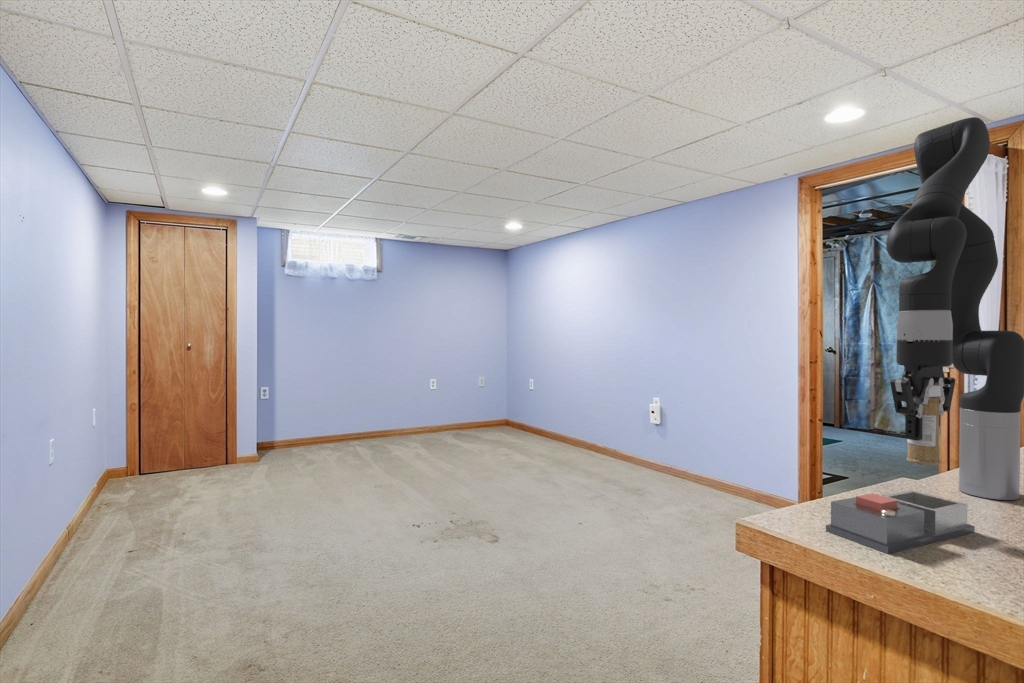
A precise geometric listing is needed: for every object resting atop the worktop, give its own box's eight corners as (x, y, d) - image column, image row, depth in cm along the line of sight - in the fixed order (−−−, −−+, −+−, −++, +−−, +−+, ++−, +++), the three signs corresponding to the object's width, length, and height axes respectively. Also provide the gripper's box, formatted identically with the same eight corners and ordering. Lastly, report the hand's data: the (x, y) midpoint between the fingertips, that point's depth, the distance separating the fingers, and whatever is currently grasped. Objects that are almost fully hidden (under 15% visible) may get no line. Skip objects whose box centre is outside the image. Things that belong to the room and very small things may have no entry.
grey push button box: (909, 513, 97) (909, 482, 97) (974, 532, 88) (974, 498, 88) (825, 531, 89) (826, 497, 89) (888, 553, 80) (888, 516, 80)
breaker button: (871, 523, 89) (872, 493, 89) (897, 531, 85) (897, 500, 85) (855, 526, 87) (855, 496, 87) (880, 535, 84) (881, 503, 84)
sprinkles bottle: (944, 464, 90) (945, 384, 90) (933, 467, 88) (934, 386, 87) (912, 458, 94) (913, 382, 94) (901, 462, 92) (902, 383, 91)
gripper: (925, 337, 97) (924, 431, 97) (873, 337, 91) (872, 437, 92) (975, 337, 90) (973, 439, 90) (921, 338, 84) (920, 446, 85)
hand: (922, 437), depth 91 cm, fingers closed on sprinkles bottle, 4 cm apart
